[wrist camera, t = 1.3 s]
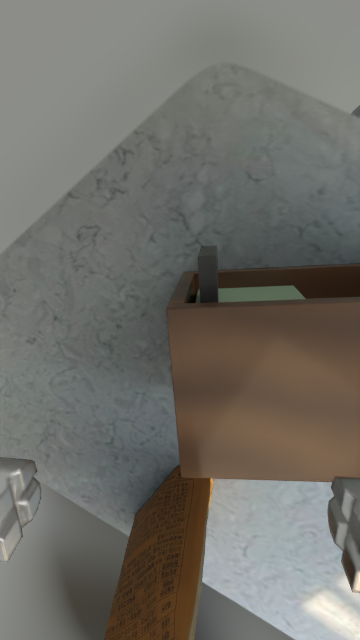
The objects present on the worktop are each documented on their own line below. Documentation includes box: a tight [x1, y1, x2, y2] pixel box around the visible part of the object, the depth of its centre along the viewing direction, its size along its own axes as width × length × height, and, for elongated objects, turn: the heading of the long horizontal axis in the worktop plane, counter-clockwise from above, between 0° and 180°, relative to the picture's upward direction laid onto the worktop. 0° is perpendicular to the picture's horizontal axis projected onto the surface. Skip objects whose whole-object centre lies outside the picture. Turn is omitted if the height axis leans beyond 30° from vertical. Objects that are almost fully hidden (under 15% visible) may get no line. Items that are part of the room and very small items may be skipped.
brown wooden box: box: [166, 263, 360, 482], centre depth 25 cm, size 13×19×11 cm
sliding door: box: [195, 246, 305, 303], centre depth 23 cm, size 5×8×9 cm, turn 94°
